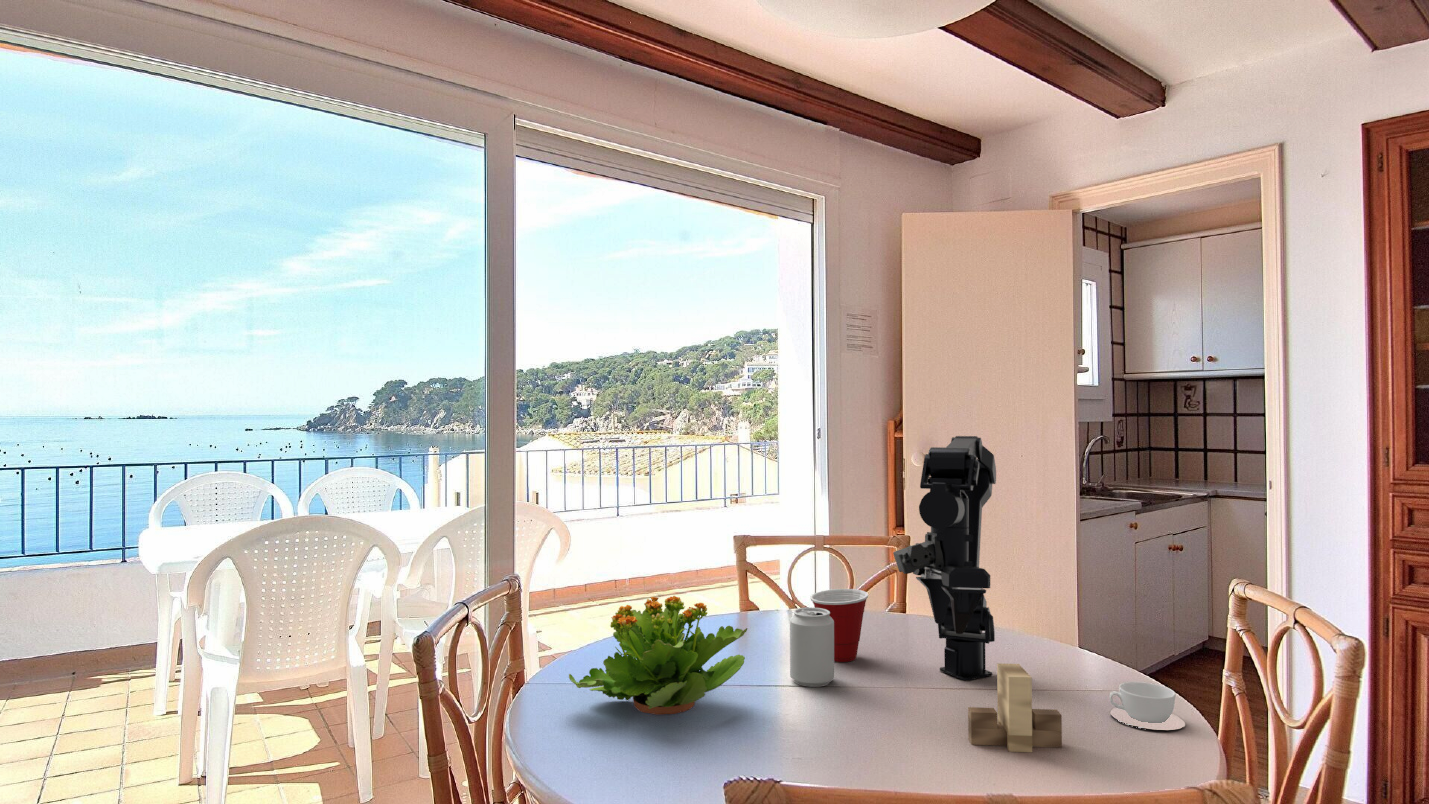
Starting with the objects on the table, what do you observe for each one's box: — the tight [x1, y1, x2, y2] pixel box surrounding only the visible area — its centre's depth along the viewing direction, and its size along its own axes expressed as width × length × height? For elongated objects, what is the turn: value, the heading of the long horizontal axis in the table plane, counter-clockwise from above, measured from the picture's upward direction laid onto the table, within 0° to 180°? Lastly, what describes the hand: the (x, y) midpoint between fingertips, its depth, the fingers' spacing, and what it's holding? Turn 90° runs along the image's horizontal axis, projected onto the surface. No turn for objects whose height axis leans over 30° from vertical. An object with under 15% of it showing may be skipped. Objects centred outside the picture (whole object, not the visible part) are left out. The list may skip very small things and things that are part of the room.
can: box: [789, 606, 835, 688], centre depth 141 cm, size 8×8×12 cm
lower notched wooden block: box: [967, 706, 1063, 748], centre depth 114 cm, size 12×2×4 cm, turn 85°
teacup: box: [1109, 681, 1177, 729], centre depth 122 cm, size 10×10×5 cm
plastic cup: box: [809, 588, 869, 663], centre depth 154 cm, size 11×11×12 cm
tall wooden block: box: [996, 662, 1033, 753], centre depth 114 cm, size 6×3×10 cm, turn 175°
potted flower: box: [568, 595, 748, 716], centre depth 130 cm, size 25×24×18 cm
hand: (948, 628), depth 128 cm, fingers open, 9 cm apart
